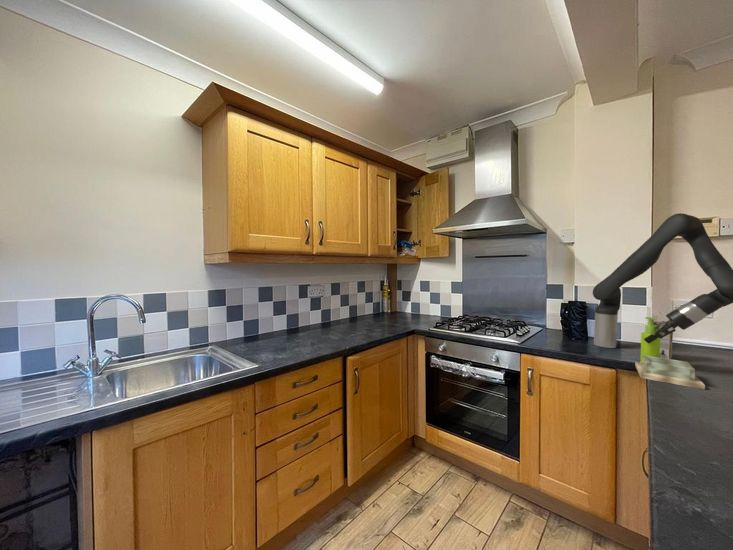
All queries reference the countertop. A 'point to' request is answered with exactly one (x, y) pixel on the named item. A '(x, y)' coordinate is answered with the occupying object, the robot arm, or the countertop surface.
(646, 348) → the soap dispenser
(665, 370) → the dispenser caddy
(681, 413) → the countertop surface
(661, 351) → the coffee box
